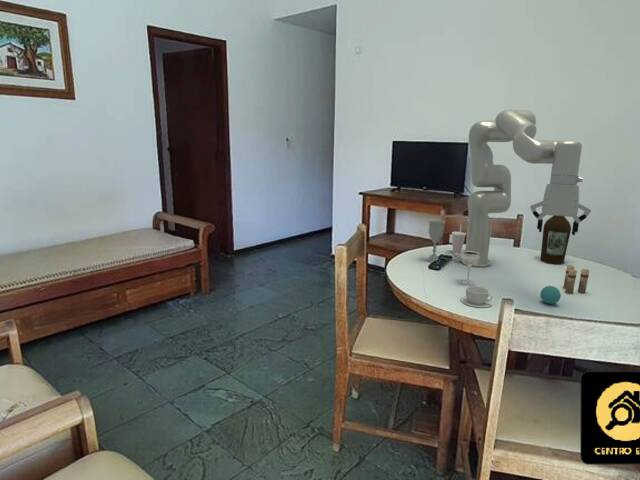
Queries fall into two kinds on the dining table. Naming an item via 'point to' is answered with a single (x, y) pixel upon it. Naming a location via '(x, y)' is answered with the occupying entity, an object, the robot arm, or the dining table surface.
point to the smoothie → (458, 240)
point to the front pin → (571, 281)
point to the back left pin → (567, 275)
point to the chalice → (435, 235)
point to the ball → (550, 294)
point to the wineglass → (469, 262)
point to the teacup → (477, 297)
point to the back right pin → (583, 280)
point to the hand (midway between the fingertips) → (556, 232)
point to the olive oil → (555, 240)
